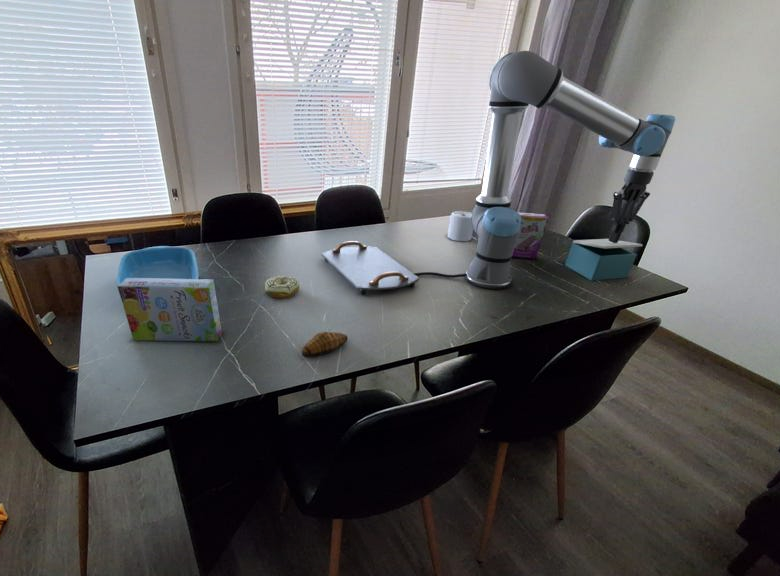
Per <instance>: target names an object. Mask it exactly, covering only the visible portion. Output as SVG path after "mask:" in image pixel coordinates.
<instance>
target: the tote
mask: <svg viewBox="0 0 780 576" xmlns="http://www.w3.org/2000/svg"><path fill="white" fill-rule="evenodd" d="M637 256H638V254H637V253H634V252H632V251H630V250H628V249H627V248H607V249H604V248H599V247H594V246H588V245H583V244H577V243H573V242H572V243H571V246H570V249H569V252H568V254H567V257H566V260H565V263H564V266H565V267H567V268H569V269H571V270H572V271H574V272H576V273H577V274H579V275H581V276H583V277H585V278H586V279H588V280H589V281H599V280H614V279H626V278H628V276H629V274H630V271H631V269H632V267H633V266H634V262H635V260H636V258H637Z"/></svg>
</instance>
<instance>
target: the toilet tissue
mask: <svg viewBox="0 0 780 576" xmlns="http://www.w3.org/2000/svg"><path fill="white" fill-rule="evenodd" d="M471 216H472V212H470V211H462V210H457V211H452V212H451V213H450V219H449V223H448V224H449V225H448V229H447V238H448V239H450V240H453V241H455V242H469V241H472V239H473V238H474V239H476V240H479V237H478V235H477V234H476V232H475V231H474V229H473V227H472V224H471Z"/></svg>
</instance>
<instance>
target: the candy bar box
mask: <svg viewBox="0 0 780 576" xmlns="http://www.w3.org/2000/svg"><path fill="white" fill-rule="evenodd" d="M517 212H518V211H517ZM518 213H519V214H520V216H521V223H520V224H521V226H520V229H519V232H518V236H517V239H516V243H515V247H514V250H513V254H512V258H521V259H531V260H536V258H537V255H538V252H539V250H540V247H541V243H542V240H543V237H544V234H545V231H546V227H547V224H548V221H549V216H547V214H543V213H532V212H520V211H519V212H518Z"/></svg>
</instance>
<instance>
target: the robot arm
mask: <svg viewBox="0 0 780 576" xmlns="http://www.w3.org/2000/svg"><path fill="white" fill-rule="evenodd" d="M488 79H489V81H488V84H489V90H490V95H489V101H488V109H489V110H490V111H491V113H492V117H491V125H490V131H489V137H488V145H487V153H486V160H485V167H484V174H483V181H482V188H481V193H480V194H479V195H478V196H477V197H476V198H475V206H474V208H473V210H472V212H471V213H472V216H471V224H472V227H473V229H474V231H475V232H476V234H477V235H478V237H479V238H478V240H477V246H476V250H475V251H476V252H475V255H474V257H473V259H472V261H471V263H470V265H469V267H468V268H467V270H466V272H465V273H459V274H445V273H440V272H433V271H423V272H422V271H421V272H412V273H413V274H414V275H416V276H417V277H418V276H436V277H442V278H448V279H449V278H450V279H453V278H454V279H455V278H465V280H466V281H467V282H468V283H470V284H471V285H473V286H475V287H477V288H478V287H479V288H482V289H486V290H503V289H506V288H508V287H510V286H511V282H512V278H513V277H512V265H511V264H512V263H511V261H512V258H513V257H512V254H513V250H514V247H515V243H516V239H517V236H518V232H519V229H520V226H521V224H520V223H521V216H520V214H519V213H518V211H516V210H513V209H512V208H511V205H512V198H511V197H510V196H509V188H510V184H511V178H512V172H513V166H514V162H515V155H516V149H517V145H518V139H519V132H520V126H521V121H522V117H523V115H522V114H523V113H524V111H526V110H527V109H528V108H529V106H533V107H535V108H537V109H539V110H541V109H542V108H547V109H548V110H550V111H552V112H554V113H556V114H558V115H559V116H561V117H563V118H566V119H567V120H568V121H569V120H570V121H571V122H573V123H575V124H577V125H579V126H581V127H583V128H585V129H587V130H589V131H590V132H593V133H594V134H596V135H598V144H599V147H602V148H608V149H618V150H621V151H624V152H629V153H632V154H633V155H632V157H631V161H630V163H629V166H628V167H629V169H627V171H626V173H625V175H624V179H623V181H624V184H623V186H622V187H621V189H620V190H619V191H614V192H613V194H612V197H613V202H612V207H611V212H610V219H609V220H610V221H611V222H613V225H612V227H611V229H610V232H611V233H610V235H609V238H608V239H609V240H608V241H611V242H613V243H618V240H619V241H620V238H621V236H622V233H623V232H624V230H625V227H626V225H629V224H630V223H632V222H633V221H634V219H636V216H637V215H638V213H639V212H640V210H641V209H642V206H643V205H644V203H645V201H646V200H647V199H648V198H649V197H650V195H651V193H650V192H648V191H647V185H649V184H651V181H652V180H653V177H654V174H655V173H654V171H656V170H657V167H658V165H659V162H660V159H661V157H662V155H663V153H664V149H665V148H666V145H667V143H668V140H669V138H670V135H672V131H673V128H674V125H675V122H676V117H675V116H674V115H673V114H672V115H671V114H660V113H651V114H649V115H648V116H647V118H646V119H645V120H643V119H641V118H639V117H638V116H636V115H635V114H632V113H631V112H628V111H627V110H625V109H623V108H622V107H619V106H618V105H616V104H614V103H612V102H611V101H608V100H607V99H605V98H604V97H601V96H600V95H598V94H596V93H595V92H593V91H590V90H589V89H586V88H585V87H583V86H581V85H580V84H578V83H576V82H574V81H572V80H570V79H568V78H567V77H565V76H564V71H563V70H562V69H561V68H559V67H557V66H555V65H554V64H552V63H551V62H549V61H548V60H546V59H545V58H543V57H542V56H540V55H539V54H538V53H535V52H534V51H530V50H520V51H514V52H509V53H507V54H505V55H504V56H502V57H500V59H498V60H497V62H496V63H495V64H494V65H493V67H492V69H491V71H490V73H489V78H488Z"/></svg>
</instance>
